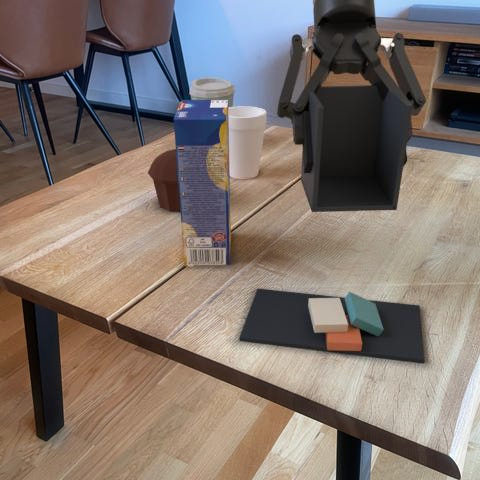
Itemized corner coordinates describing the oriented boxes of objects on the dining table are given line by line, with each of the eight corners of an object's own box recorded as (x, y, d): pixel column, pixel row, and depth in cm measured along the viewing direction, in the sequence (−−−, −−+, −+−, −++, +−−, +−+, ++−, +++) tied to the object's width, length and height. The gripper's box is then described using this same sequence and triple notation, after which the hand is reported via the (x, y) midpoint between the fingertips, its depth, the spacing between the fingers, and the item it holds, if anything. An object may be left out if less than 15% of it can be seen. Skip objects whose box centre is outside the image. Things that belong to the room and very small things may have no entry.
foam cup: (231, 185, 113) (230, 119, 106) (214, 171, 120) (212, 109, 113) (272, 178, 116) (274, 114, 109) (254, 165, 123) (254, 104, 116)
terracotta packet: (328, 342, 65) (327, 350, 66) (362, 343, 65) (361, 351, 66) (324, 314, 70) (323, 322, 71) (356, 314, 70) (355, 322, 70)
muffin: (153, 218, 100) (147, 163, 94) (148, 196, 109) (143, 144, 103) (218, 212, 102) (216, 158, 96) (208, 191, 111) (206, 140, 105)
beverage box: (230, 236, 93) (228, 99, 81) (229, 268, 84) (226, 119, 72) (190, 236, 93) (181, 99, 81) (184, 268, 84) (173, 119, 72)
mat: (418, 310, 74) (419, 305, 74) (423, 365, 65) (424, 359, 64) (257, 293, 78) (257, 288, 78) (239, 342, 68) (239, 337, 68)
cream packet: (314, 324, 66) (314, 332, 67) (348, 324, 66) (347, 332, 67) (308, 298, 71) (307, 306, 72) (339, 297, 71) (338, 305, 72)
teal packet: (356, 317, 66) (350, 324, 67) (384, 329, 67) (378, 337, 68) (349, 291, 71) (344, 298, 72) (375, 303, 72) (370, 310, 73)
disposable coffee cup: (245, 146, 135) (245, 80, 127) (213, 157, 129) (211, 88, 120) (214, 138, 141) (212, 74, 133) (183, 147, 135) (178, 81, 126)
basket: (300, 181, 75) (305, 86, 68) (375, 179, 75) (388, 84, 68) (311, 212, 66) (318, 107, 59) (396, 210, 66) (413, 105, 60)
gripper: (423, 22, 73) (438, 179, 69) (251, 25, 73) (256, 182, 69) (444, -23, 66) (463, 149, 62) (253, -20, 66) (259, 153, 61)
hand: (354, 167), depth 65 cm, fingers closed on basket, 10 cm apart
